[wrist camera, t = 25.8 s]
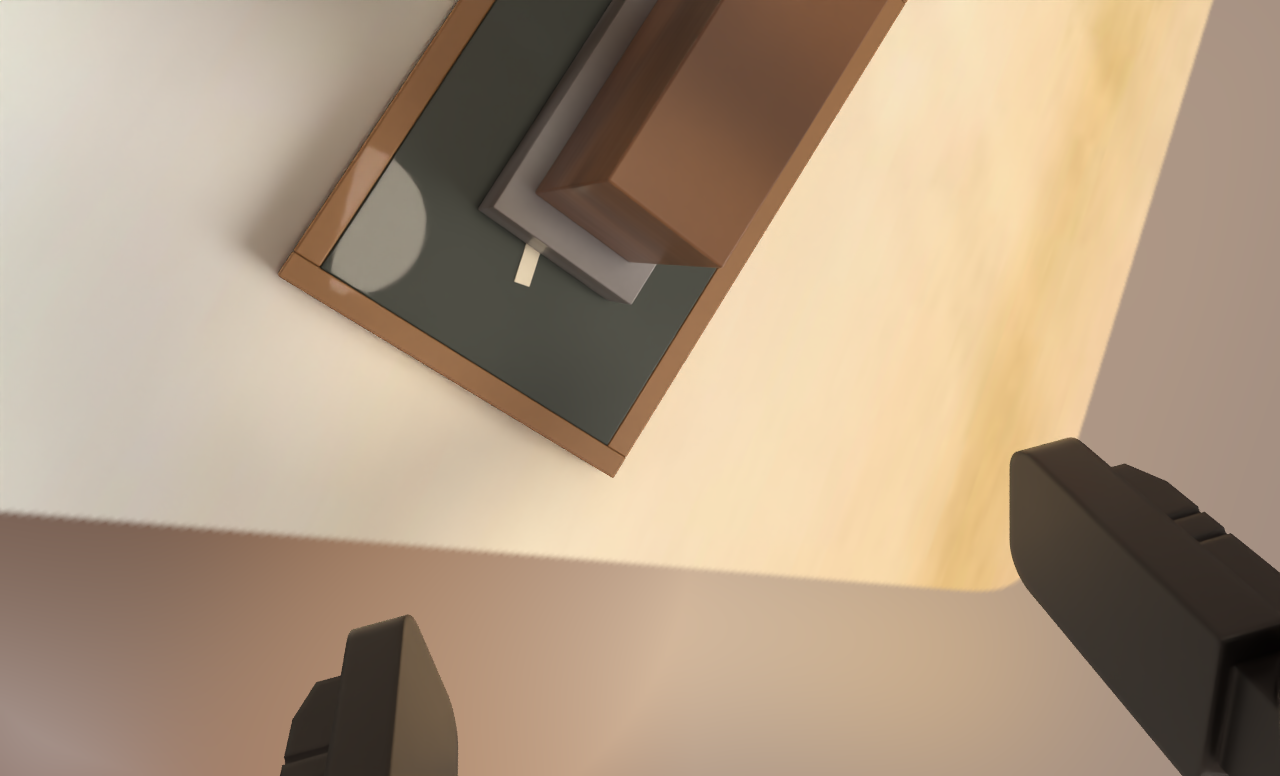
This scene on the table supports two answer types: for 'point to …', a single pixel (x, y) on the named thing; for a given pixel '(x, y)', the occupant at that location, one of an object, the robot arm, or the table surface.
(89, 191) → the table surface
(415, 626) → the robot arm
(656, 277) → the chalkboard
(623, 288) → the eraser
